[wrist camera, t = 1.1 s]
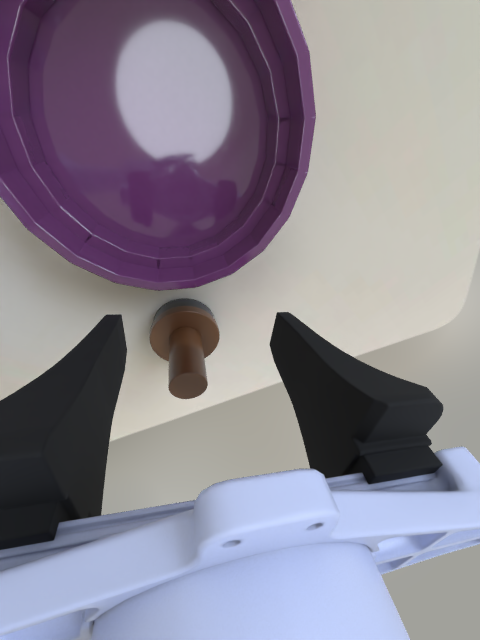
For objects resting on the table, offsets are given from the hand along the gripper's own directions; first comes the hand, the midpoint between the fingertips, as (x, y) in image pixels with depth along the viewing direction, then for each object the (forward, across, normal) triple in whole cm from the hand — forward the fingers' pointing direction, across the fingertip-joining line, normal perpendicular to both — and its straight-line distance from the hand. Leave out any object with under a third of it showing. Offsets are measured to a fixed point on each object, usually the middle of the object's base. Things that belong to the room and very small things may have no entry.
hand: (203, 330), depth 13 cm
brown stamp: (+10, 0, +7) cm, 12 cm away
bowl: (+10, +2, -7) cm, 12 cm away
